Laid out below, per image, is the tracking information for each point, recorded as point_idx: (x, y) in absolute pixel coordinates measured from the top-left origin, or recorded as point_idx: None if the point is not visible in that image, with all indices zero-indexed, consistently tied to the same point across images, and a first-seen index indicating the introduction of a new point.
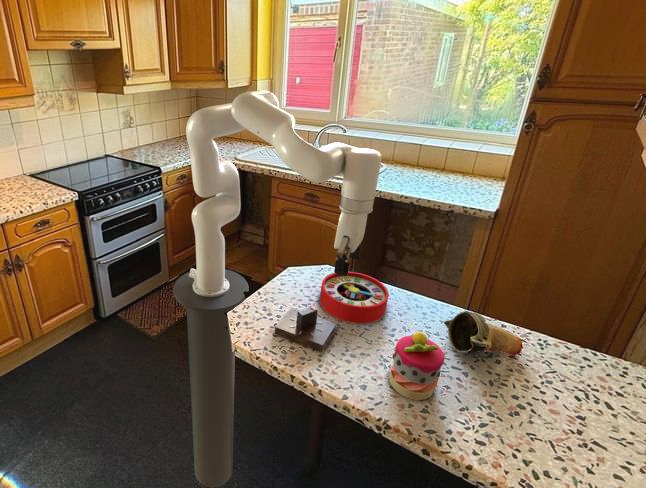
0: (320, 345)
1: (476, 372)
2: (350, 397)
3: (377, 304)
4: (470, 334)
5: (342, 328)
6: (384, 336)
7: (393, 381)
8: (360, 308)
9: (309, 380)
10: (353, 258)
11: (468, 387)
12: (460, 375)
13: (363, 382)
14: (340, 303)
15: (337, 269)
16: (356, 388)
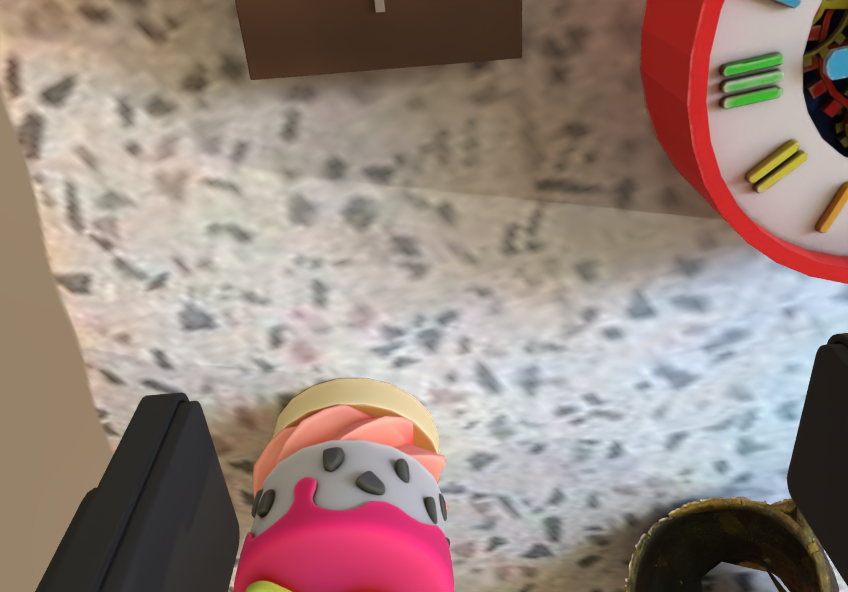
0: (249, 62)
1: (568, 572)
2: (96, 300)
3: (787, 255)
4: (771, 559)
5: (557, 74)
6: (610, 285)
7: (287, 419)
8: (699, 175)
9: (19, 108)
10: (798, 440)
11: (471, 567)
12: (520, 544)
13: (223, 312)
14: (692, 30)
15: (78, 519)
16: (165, 301)
